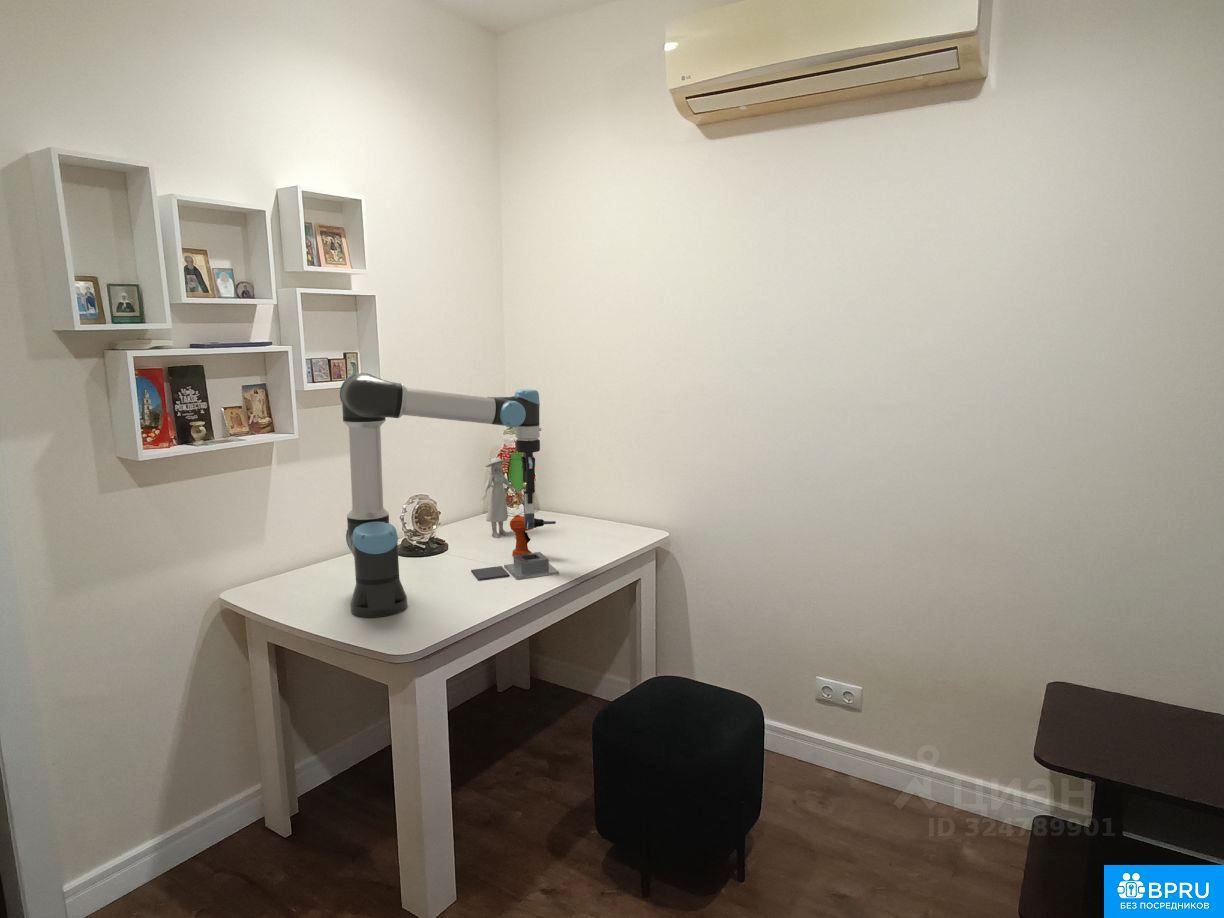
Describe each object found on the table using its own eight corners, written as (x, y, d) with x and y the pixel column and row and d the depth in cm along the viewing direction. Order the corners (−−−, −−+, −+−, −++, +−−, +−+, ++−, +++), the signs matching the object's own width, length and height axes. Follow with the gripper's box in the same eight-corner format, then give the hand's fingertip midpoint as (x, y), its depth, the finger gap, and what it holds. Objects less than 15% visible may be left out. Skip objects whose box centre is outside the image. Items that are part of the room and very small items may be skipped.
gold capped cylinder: (536, 528, 242) (535, 483, 240) (524, 529, 241) (523, 484, 239) (534, 525, 246) (533, 481, 243) (522, 526, 245) (522, 482, 243)
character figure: (490, 541, 280) (487, 461, 275) (475, 538, 285) (472, 459, 280) (522, 532, 293) (520, 455, 288) (507, 529, 298) (505, 453, 293)
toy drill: (556, 559, 253) (550, 515, 251) (510, 559, 261) (504, 516, 260) (563, 555, 257) (558, 512, 255) (518, 555, 266) (512, 513, 264)
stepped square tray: (516, 579, 237) (515, 565, 236) (504, 567, 250) (503, 554, 249) (558, 573, 242) (558, 560, 242) (544, 562, 255) (544, 549, 254)
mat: (478, 580, 236) (478, 578, 236) (471, 571, 245) (471, 569, 245) (509, 576, 240) (509, 574, 240) (501, 567, 249) (501, 565, 249)
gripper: (543, 442, 232) (544, 517, 236) (536, 435, 248) (537, 505, 251) (518, 442, 230) (520, 518, 234) (513, 435, 246) (514, 506, 250)
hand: (529, 511), depth 243 cm, fingers closed on gold capped cylinder, 3 cm apart
